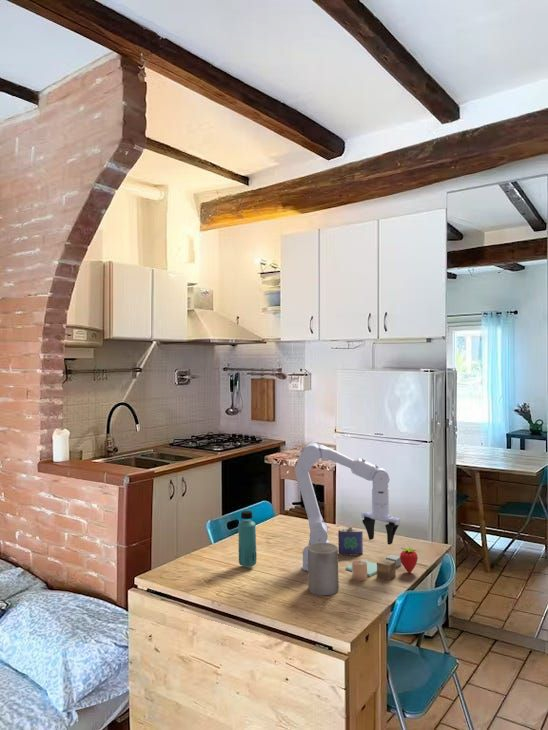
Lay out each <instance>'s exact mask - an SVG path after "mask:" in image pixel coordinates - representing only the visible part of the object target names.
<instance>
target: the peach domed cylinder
mask: <svg viewBox="0 0 548 730" xmlns="http://www.w3.org/2000/svg"><path fill="white" fill-rule="evenodd" d="M351 565H352V571H351V573H352V574H351V577H352V580H354V581H357V582H363V581H366V580H368V576H367V563H366V562H364V561H360V560H354V561H352V562H351Z"/></svg>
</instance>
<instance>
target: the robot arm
mask: <svg viewBox="0 0 548 730" xmlns="http://www.w3.org/2000/svg"><path fill="white" fill-rule="evenodd" d="M320 459H321V460H320ZM319 461H321V462H325V461H332V462H334V463H337V464H339V465H341V466H344V467H347V468H349V469H350V470H351V473H352V474H353V475H355V476H357V477H360V478H362V479H364V480H367V481H369V482H370V481H372V489H371V511H366V510H364V511H362V512H361V518H363V519H362V520H361V521H362V524H363V525H364V528H365V529H366V532H367V536H368V540H369V541H371V540H373V539H375V524H376V523H375V522H376V521H378V522H383V523H387V524H385V525H384V526H385V531H386V537H387V538H386V539H387V540H386V541H387V545H390V546H391V545H392V544H393V541H394V537H395V534H396V532H397V529H398V528H399V526H400V525H401V518H399V517H395V516H393V515H391V514H389V513H390V512H389V511H390V510H389V507H390V506H389V505H390V504H389V496H390V495H389V494H390V493H389V491H390V490H389V482H390V477H389V474H388V471H387V470H386V469H385V468H383V467H382V466H379V465H378V464H372V463H370V462H368V461H367V459H366V458H365V457H364V458H360V457H359V458H356V459H352V458H351V457H349V456H347V455H345V454H343V453H341V452H338V451H337V450H334V449H332V448H331V447H329V446H325V445H323V444H321V443H320V444H319V443H318V442H314V441H311V442H308V443H306V444H305V446H304V447H303V448H302V450H301V451H300V454H299V457H298V459H297V463H296V465H295V468H294V473H295V477H296V480H297V483H298V486H299V490H300V494H301V498H302V501H303V502H302V503H303V505H304V508H305V513H306V516H307V519H308V520H307V521H308V526H309V527H308V528H309V531H310V532H309V539H308V543H307V546H305V547H303V550H302V566H301V567H300V569H301V570H304V571H307V572H308V546H310V545H311V544H314V543H330V540H329V539H328V537H329V536H328V532H329V527H328V524H327V523H326V522H325V521H324V519H323V516H322V514H321V511H320V507H319V503H318V500H317V497H316V496H317V495H316V492H315V489H314V485H313V482H312V479H311V476H310V471H311V469H312V468H313V466H314V465H315V464H317V463H318V462H319Z"/></svg>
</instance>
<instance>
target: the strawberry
mask: <svg viewBox="0 0 548 730" xmlns="http://www.w3.org/2000/svg"><path fill="white" fill-rule="evenodd" d="M406 545H407V546H408V547H409V548H404V547H401V548H400V549H402V551H401V552H400V554H399V556H400V560H401V566H403V568H404V570H406V572H407V573H408V574H411V573H412V571H413V570H414V569H415V567H416V565H417V562H418V557H419V556H418V553H417V552H416V551H417V549H413V548H412V547H410V546H409V545H408V543H406Z"/></svg>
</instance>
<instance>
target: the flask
mask: <svg viewBox="0 0 548 730" xmlns="http://www.w3.org/2000/svg"><path fill="white" fill-rule="evenodd" d="M353 527H354V526H353V525H349V527H348V528H342V529H339V530H338V532H337V533H338V534H337V535H338V536H337V537H338V538H337V539H338V546H337V547H338V556H339V555H340V556H361V555H363V552H364V551H363V550H364V549H363V548H364V547H363V546H364V544H363V541H364V540H363V530H361V529H354V528H353Z"/></svg>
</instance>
